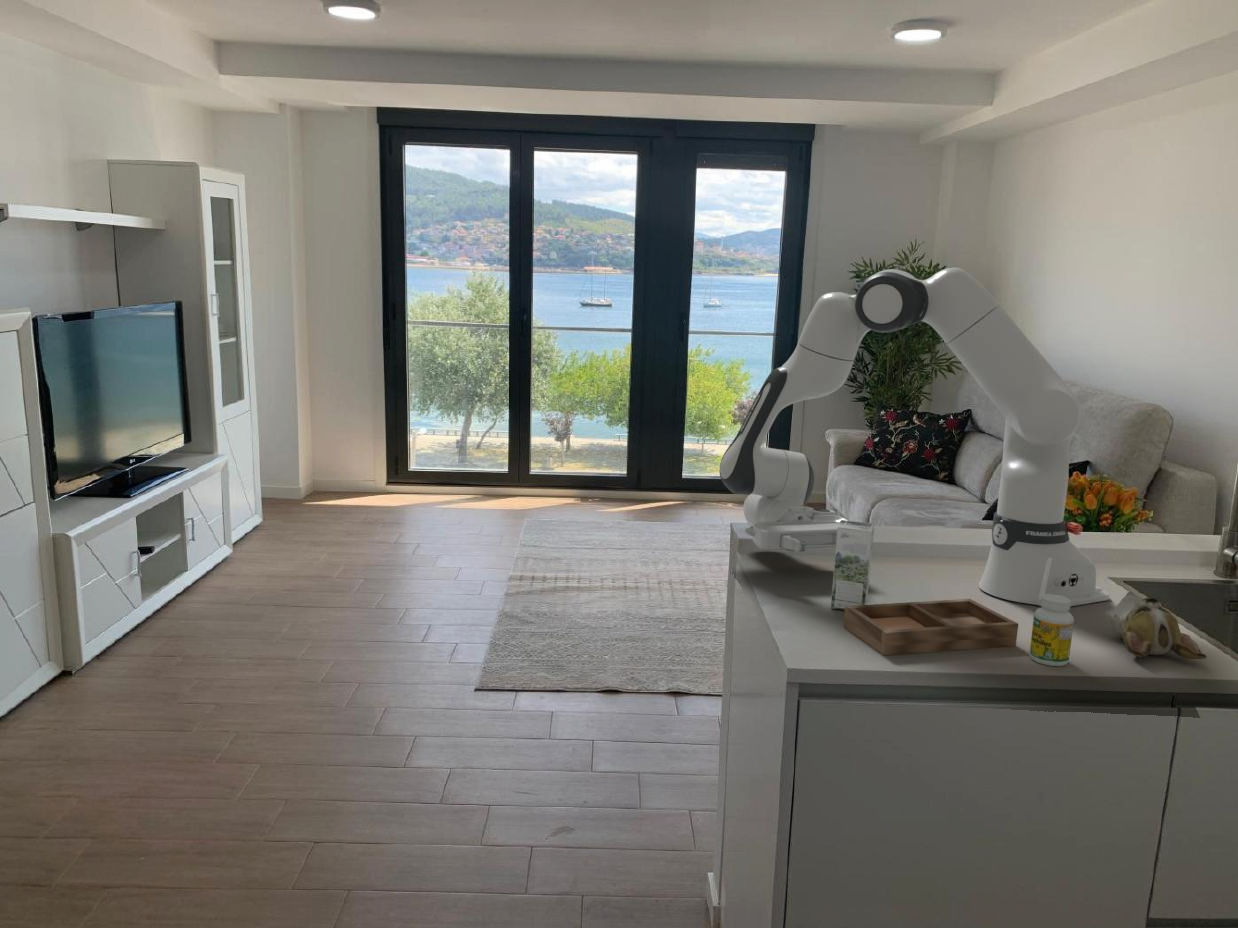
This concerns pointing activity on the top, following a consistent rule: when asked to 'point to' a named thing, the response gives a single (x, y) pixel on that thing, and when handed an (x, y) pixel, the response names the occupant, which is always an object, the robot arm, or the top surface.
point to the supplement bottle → (1052, 631)
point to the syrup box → (852, 564)
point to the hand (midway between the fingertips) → (826, 546)
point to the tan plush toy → (1151, 629)
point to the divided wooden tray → (929, 626)
